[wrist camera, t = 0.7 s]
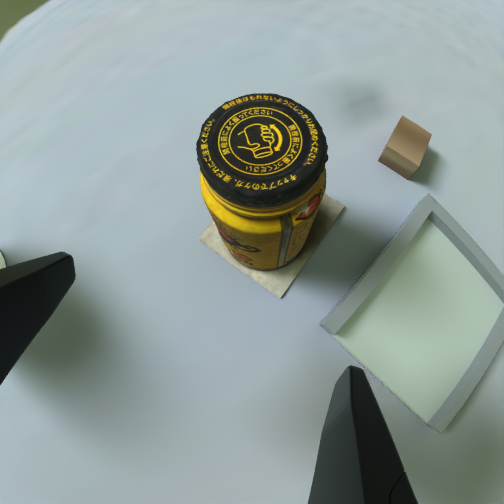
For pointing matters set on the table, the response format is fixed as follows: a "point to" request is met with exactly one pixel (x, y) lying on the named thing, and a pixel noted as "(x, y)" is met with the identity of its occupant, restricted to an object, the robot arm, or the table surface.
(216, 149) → the condiment
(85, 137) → the table surface
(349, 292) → the holder
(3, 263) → the jar
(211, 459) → the table surface
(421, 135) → the tan block
